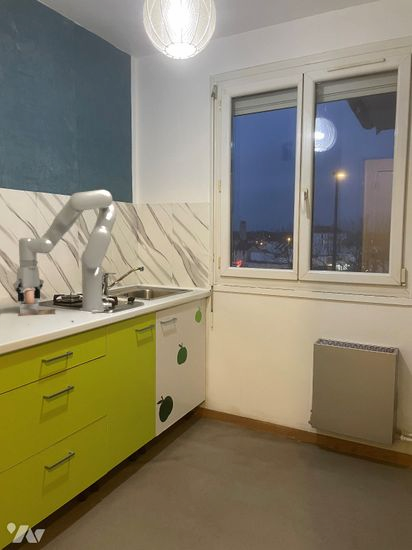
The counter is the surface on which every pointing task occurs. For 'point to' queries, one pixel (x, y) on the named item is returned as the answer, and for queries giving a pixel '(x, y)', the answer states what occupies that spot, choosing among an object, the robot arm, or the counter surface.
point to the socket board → (33, 310)
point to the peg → (29, 297)
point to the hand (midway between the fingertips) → (29, 299)
